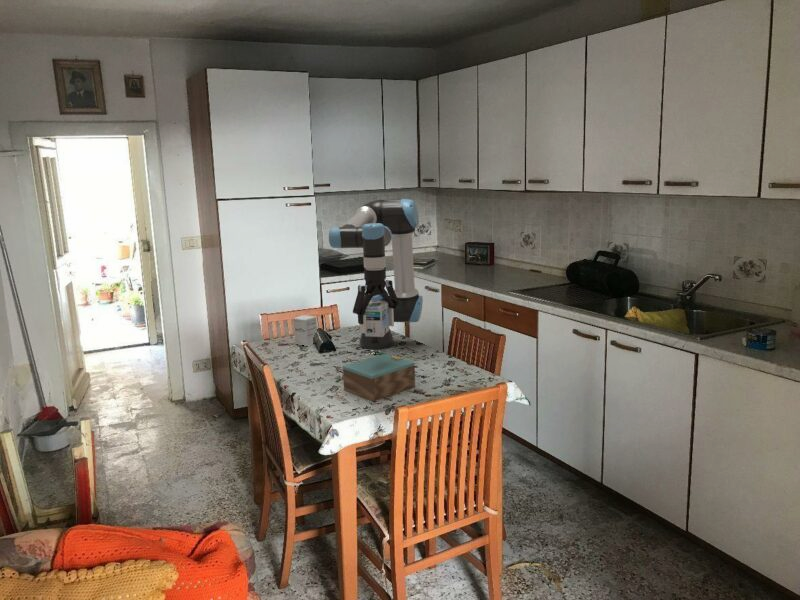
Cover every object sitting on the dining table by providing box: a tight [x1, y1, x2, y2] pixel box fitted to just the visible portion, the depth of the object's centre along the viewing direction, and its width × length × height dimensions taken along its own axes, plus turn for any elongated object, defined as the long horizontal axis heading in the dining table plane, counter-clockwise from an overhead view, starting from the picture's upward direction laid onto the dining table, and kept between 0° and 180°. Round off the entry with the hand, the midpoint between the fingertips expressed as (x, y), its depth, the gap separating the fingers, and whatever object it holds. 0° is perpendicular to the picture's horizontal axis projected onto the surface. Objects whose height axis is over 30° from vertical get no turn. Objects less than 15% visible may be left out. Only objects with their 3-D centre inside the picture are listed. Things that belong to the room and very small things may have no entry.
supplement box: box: [293, 314, 318, 347], centre depth 291 cm, size 7×7×13 cm
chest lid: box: [342, 353, 415, 379], centre depth 231 cm, size 20×16×2 cm
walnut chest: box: [342, 365, 416, 402], centre depth 232 cm, size 20×16×8 cm
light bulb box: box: [364, 300, 390, 337], centre depth 227 cm, size 11×7×11 cm, turn 168°
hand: (377, 329), depth 228 cm, fingers closed on light bulb box, 12 cm apart
